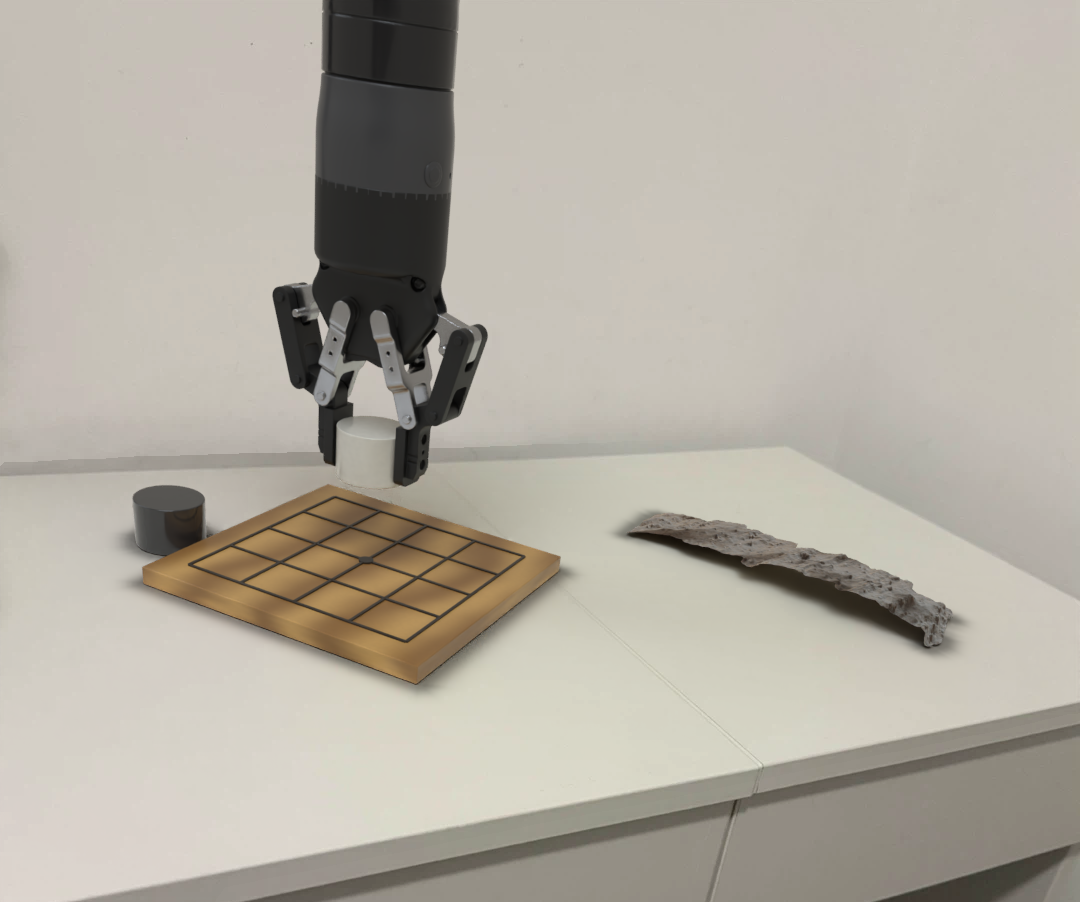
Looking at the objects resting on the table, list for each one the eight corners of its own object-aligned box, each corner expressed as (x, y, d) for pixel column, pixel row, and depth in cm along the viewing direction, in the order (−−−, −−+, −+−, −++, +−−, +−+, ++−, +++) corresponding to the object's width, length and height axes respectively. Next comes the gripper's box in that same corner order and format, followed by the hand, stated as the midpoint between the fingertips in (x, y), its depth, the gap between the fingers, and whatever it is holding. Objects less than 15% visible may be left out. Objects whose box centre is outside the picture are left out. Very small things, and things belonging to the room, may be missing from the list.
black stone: (120, 542, 71) (116, 497, 69) (168, 523, 75) (166, 479, 73) (174, 562, 70) (172, 516, 68) (221, 541, 73) (219, 497, 72)
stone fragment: (937, 658, 74) (955, 607, 81) (952, 622, 72) (969, 574, 80) (607, 550, 81) (652, 512, 89) (613, 515, 80) (659, 480, 87)
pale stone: (320, 476, 67) (321, 426, 65) (361, 458, 70) (363, 410, 69) (382, 495, 65) (385, 444, 64) (421, 476, 69) (424, 427, 67)
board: (142, 583, 67) (141, 564, 66) (327, 498, 83) (328, 481, 82) (416, 684, 61) (417, 664, 60) (559, 571, 77) (561, 554, 76)
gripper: (528, 195, 60) (496, 486, 69) (316, 154, 64) (313, 432, 73) (464, 202, 54) (439, 519, 63) (235, 155, 58) (242, 458, 67)
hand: (371, 470), depth 68 cm, fingers closed on pale stone, 4 cm apart
